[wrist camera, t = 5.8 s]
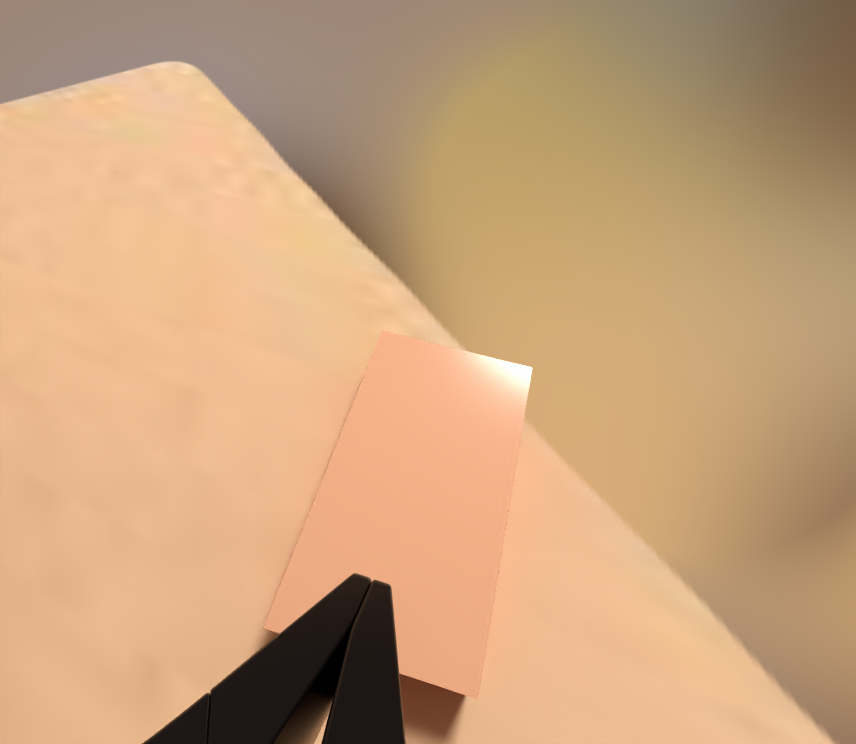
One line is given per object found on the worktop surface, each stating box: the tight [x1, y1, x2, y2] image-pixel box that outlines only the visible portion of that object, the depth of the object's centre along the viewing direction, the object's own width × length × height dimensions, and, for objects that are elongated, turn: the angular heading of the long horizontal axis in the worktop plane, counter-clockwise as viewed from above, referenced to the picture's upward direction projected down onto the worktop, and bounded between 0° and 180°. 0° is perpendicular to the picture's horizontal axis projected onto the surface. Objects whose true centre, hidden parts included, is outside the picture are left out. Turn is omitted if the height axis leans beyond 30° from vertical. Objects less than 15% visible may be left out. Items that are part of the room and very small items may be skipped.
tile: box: [263, 331, 532, 699], centre depth 16 cm, size 2×7×12 cm
